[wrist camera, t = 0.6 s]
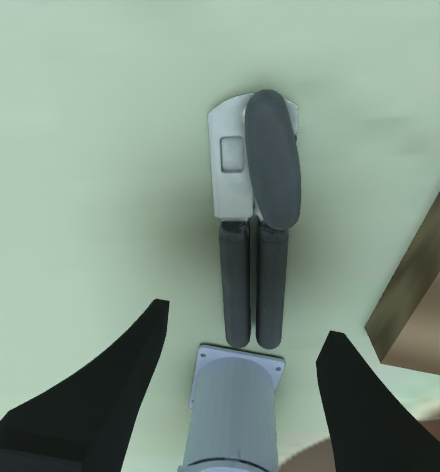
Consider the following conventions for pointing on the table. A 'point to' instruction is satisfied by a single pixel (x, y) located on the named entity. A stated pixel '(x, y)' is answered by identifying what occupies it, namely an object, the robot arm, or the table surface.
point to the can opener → (254, 206)
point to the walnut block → (412, 305)
